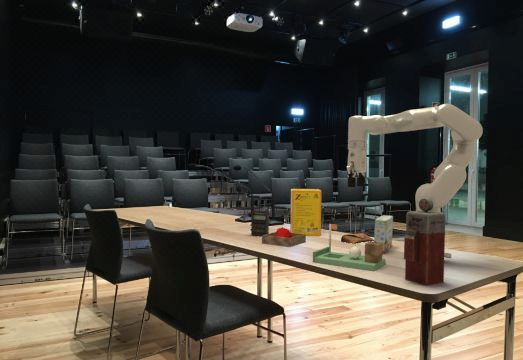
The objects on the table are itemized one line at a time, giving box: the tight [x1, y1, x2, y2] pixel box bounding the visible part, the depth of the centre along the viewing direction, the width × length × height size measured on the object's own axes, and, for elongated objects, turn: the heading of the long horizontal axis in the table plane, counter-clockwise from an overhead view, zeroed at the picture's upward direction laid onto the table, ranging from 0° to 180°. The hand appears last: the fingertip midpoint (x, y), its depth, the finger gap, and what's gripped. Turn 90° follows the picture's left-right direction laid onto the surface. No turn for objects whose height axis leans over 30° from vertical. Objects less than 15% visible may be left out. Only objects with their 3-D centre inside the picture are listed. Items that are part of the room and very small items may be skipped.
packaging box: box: [289, 188, 322, 237], centre depth 242 cm, size 16×16×25 cm
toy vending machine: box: [403, 198, 446, 286], centre depth 143 cm, size 9×11×28 cm
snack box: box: [373, 214, 394, 255], centre depth 198 cm, size 21×6×15 cm, turn 155°
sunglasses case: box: [340, 232, 374, 245], centre depth 220 cm, size 18×7×7 cm
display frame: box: [261, 231, 307, 248], centre depth 213 cm, size 16×16×4 cm
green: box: [312, 223, 386, 272], centre depth 170 cm, size 25×14×14 cm, turn 56°
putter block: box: [364, 241, 384, 264], centre depth 164 cm, size 5×6×7 cm
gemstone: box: [275, 226, 292, 238], centre depth 211 cm, size 9×9×10 cm
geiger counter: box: [250, 207, 270, 238], centre depth 232 cm, size 10×4×15 cm, turn 72°
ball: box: [348, 246, 362, 259], centre depth 168 cm, size 5×5×5 cm
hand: (356, 186), depth 179 cm, fingers open, 9 cm apart
